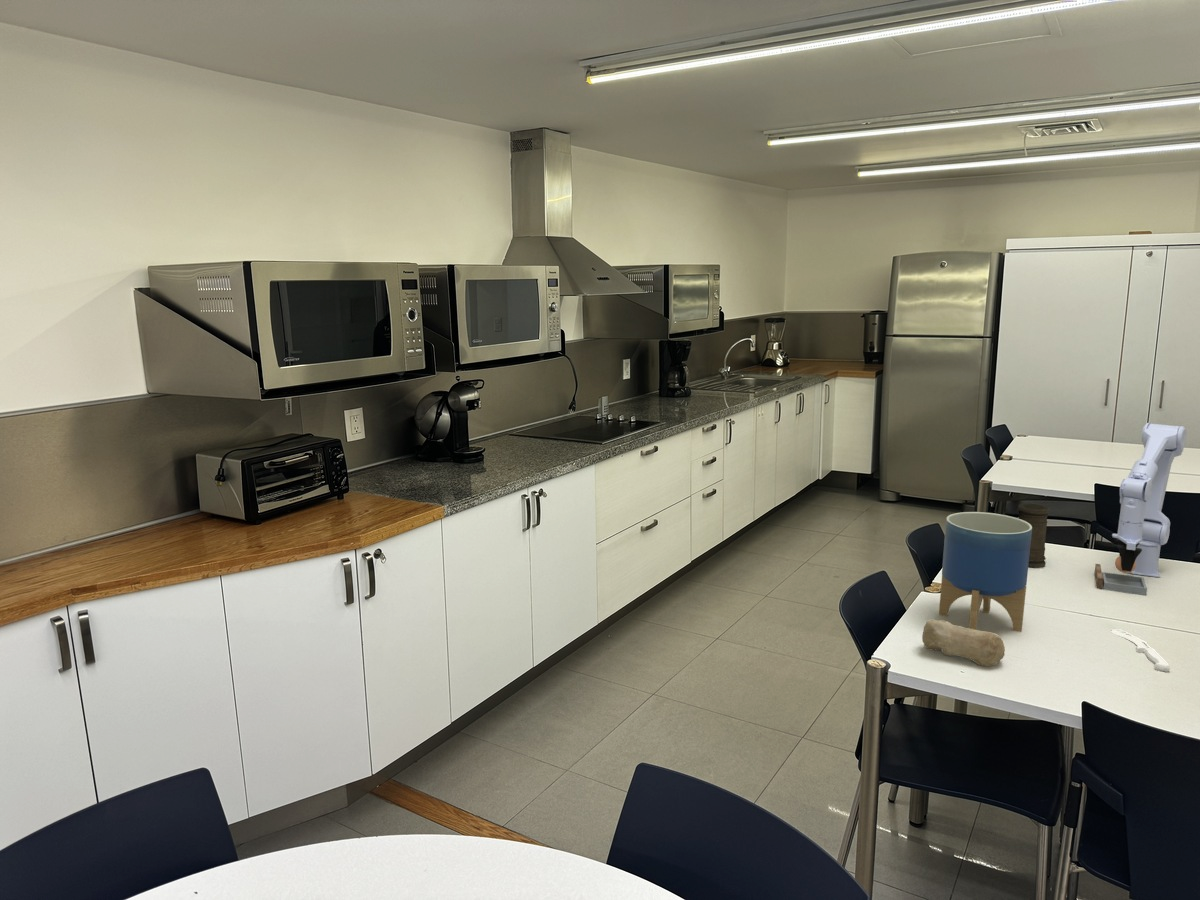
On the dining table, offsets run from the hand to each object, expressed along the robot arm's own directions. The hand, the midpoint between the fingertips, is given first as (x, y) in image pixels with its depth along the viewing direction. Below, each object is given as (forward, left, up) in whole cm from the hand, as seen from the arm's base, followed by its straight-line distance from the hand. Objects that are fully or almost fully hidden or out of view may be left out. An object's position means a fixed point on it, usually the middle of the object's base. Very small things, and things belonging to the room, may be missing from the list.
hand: (1125, 567), depth 229 cm
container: (-10, -24, -6) cm, 27 cm away
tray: (0, 0, -6) cm, 6 cm away
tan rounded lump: (+69, -36, -6) cm, 78 cm away
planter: (+46, -34, -6) cm, 58 cm away
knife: (+43, -2, -6) cm, 43 cm away
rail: (-2, -6, -6) cm, 9 cm away
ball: (0, 0, -2) cm, 2 cm away
